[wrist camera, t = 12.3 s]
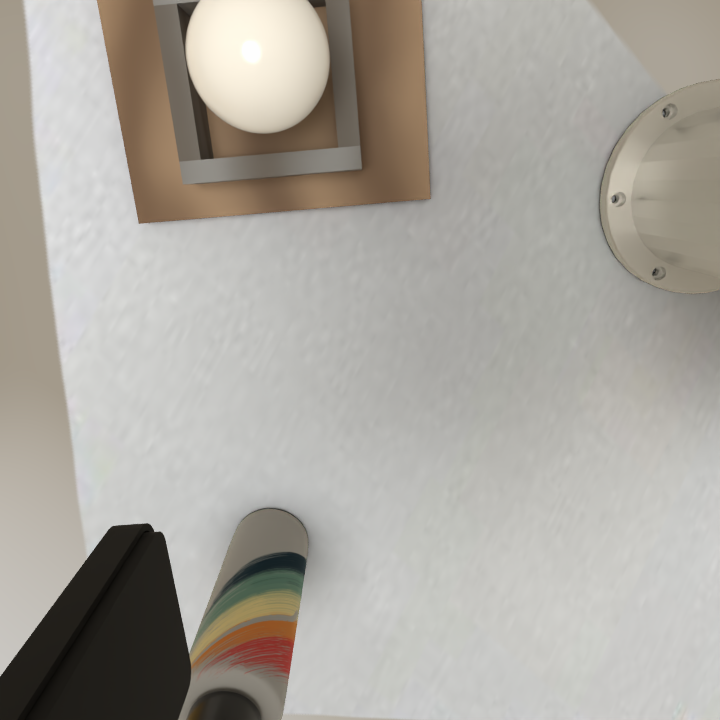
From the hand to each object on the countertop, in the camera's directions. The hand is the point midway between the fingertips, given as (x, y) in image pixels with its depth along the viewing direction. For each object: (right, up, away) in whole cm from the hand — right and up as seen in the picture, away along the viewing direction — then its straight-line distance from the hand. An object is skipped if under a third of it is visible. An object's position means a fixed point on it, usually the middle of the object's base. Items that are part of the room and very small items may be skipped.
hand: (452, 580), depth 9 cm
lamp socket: (-7, +20, +26) cm, 33 cm away
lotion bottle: (-8, -10, +35) cm, 37 cm away
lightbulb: (-6, +20, +24) cm, 32 cm away
